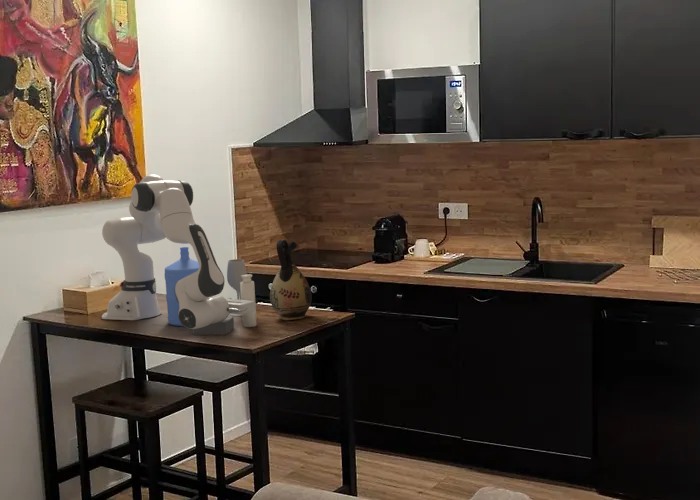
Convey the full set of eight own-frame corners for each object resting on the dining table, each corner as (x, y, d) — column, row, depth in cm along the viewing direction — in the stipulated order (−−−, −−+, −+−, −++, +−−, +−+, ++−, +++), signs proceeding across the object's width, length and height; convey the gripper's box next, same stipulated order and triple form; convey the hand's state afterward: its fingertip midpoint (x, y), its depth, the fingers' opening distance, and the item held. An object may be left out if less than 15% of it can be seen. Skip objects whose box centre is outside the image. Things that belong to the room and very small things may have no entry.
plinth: (193, 334, 312) (192, 322, 311) (201, 327, 322) (201, 316, 321) (226, 334, 310) (225, 322, 309) (234, 327, 320) (233, 315, 319)
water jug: (202, 326, 324) (197, 250, 320) (161, 326, 326) (156, 251, 322) (215, 317, 339) (211, 244, 335) (176, 317, 341) (171, 245, 337)
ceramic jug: (282, 312, 342) (277, 235, 337) (319, 314, 336) (315, 235, 332) (262, 322, 326) (257, 241, 322) (300, 324, 320) (296, 242, 316)
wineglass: (251, 311, 345) (247, 258, 342) (246, 316, 338) (243, 261, 335) (231, 312, 346) (228, 259, 343) (227, 316, 339) (223, 262, 336)
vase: (241, 327, 320) (238, 276, 317) (244, 324, 325) (241, 274, 322) (254, 327, 319) (251, 276, 317) (258, 323, 324) (255, 273, 321)
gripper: (240, 302, 300) (264, 294, 312) (193, 297, 310) (218, 290, 322) (241, 320, 301) (265, 311, 313) (194, 315, 311) (219, 307, 323)
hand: (241, 301), depth 317 cm, fingers open, 8 cm apart
